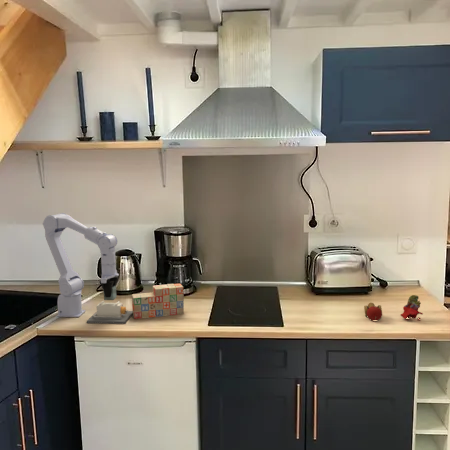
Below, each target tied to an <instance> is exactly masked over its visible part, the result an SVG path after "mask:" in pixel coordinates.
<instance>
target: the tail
mask: <svg viewBox="0 0 450 450" xmlns="http://www.w3.org/2000/svg"><path fill="white" fill-rule="evenodd" d="M116 298H117V285H116V286H112V293H111V297H105V294H104V293H103V301H114V300H115V299H116Z"/></svg>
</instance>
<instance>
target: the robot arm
mask: <svg viewBox="0 0 450 450" xmlns="http://www.w3.org/2000/svg"><path fill="white" fill-rule="evenodd" d="M42 226H43V229H44V237H45V240H46V242H47V245H48V247H49V250H50V252H51V254H52V257H53V260H54V262H55V265H56V267H57V269H58V272H59V275H60V276H59V278H58V281H57V283H58V286H59V293H60V294H59V295H58V296H57V317H59V318H63V317H64V318H65V317H67V318H72V317H74V318H79V317H80V316H82V315H83V314H84V313H85V312H86V309H83V304H82V292H83V291H82V290H83V289H84V287H85V282H84V280H83V278H82V277H81V276H80V274H79V273H78V272H77V271H75V270H74V269H73V266H72V263H71V262H70V259H69V257H68V254H67V251H66V248H65V247H64V243H63V242H62V240H61V235H62V233H63V232H64V230H66V229H67V228H68V229H70V230H73V231H75V232H78V233H80V234H82V235H84V238H85V239H86V240H87V241H89V242H91V243H93V244H95V245H97V248H99V251H100V258H101V259H100V262H101V263H100V264H101V278H100V280H99V285H100V286H101V288H102V290H103V295H104V294H105V297H111V293H112V286H116V287H117V282H118V280H119V275H120V274H119V273H118V270H117V268H116V267H117V266H116V265H117V263H116V262H117V261H116V246H117V244H118V239H117V237H116V236H115V235H114V234H113V233H108V234H107V232H106V231H102V230H101V229H98V227H97V226H95V225H94V226H89V227H88V226H87V225H85V224H83V223H81V221H80V222H79V221H78V220H76V219H75V218H73V217H72V216H71V215H69V214H67V213H66V212H60V213H57V214H51V215H50V214H49V215H46V217H44V220H43V222H42Z"/></svg>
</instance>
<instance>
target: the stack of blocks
mask: <svg viewBox="0 0 450 450" xmlns="http://www.w3.org/2000/svg"><path fill="white" fill-rule="evenodd" d="M184 297H185V296H184V286H183V285H182V284H181V283H167V284H159V285H157V284H156V285H152V292H144V293H142V292H141V293H133V294H131V298H132V299H131V301H132V302H131V306H132V311H133V315H132V316H133V319H134V320H137V319H147V318H157V317H165V316H177V315H184V314H185V311H184V309H185V308H184V304H185V302H184V300H185V298H184Z"/></svg>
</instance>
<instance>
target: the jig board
mask: <svg viewBox="0 0 450 450" xmlns="http://www.w3.org/2000/svg"><path fill="white" fill-rule="evenodd" d="M132 316H133V310H127V309H126V313H125V314H123V315H122V316H97V311H96V312H95V313H93V314H92V315H91V316H90V317H89V318H88V319H86V324H103V325H104V324H105V325H106V324H111V325H115V324H116V325H126V323H127V322H129V320H130V318H131V317H132Z"/></svg>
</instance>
